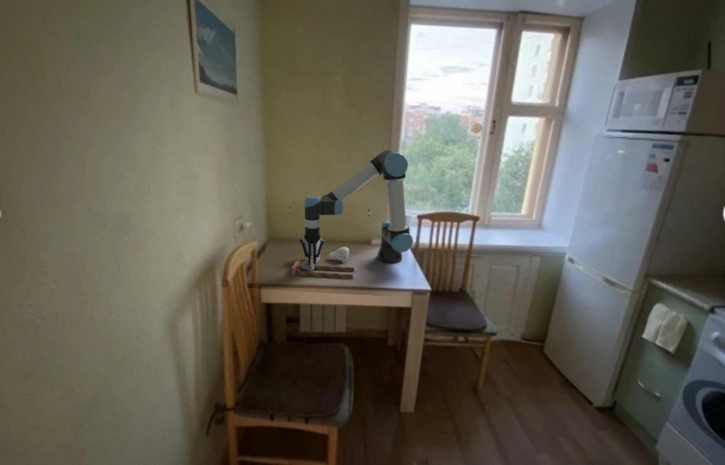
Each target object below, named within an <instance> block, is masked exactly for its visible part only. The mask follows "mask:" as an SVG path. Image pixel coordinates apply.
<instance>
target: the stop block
mask: <svg viewBox="0 0 725 465" xmlns="http://www.w3.org/2000/svg"><path fill="white" fill-rule="evenodd" d="M300 262H301V260H295V262H293V263H294V264H293V265H292V267H291V276H296V275H295V272H296V271H300V268H299V265H300Z"/></svg>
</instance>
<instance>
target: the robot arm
mask: <svg viewBox="0 0 725 465" xmlns="http://www.w3.org/2000/svg"><path fill="white" fill-rule="evenodd" d="M408 167H409V163H408V160H407V158H406V156H405V155H404V154H403V153H401V152H399V151H393V150H389V149H387V150H384V151H382V152H380V153H379V154H378V155H376V156H374V158H372V159H371V160H369V161H368V164H367V165H366V166H364V167H363V168H362V169H360V170H358V171H357V173H355V174H354V175H352V176H351V177H349V178H348V179H347V180H345V181H343V183H341V184H339V185H338V186H337V187H336V188H334V189H333V190H332V191H330V192H329V193H327V194H326V193H325V194H323V195H322V196H321V197H320V196H315V195H312V196H311V195H309V196H306V197H305V198H304V236H303V237H302V238H300V239H299V242H300V243H301V246H302V250H303V253H304V258H305V257H308V258H309V264H311V271H314V270H315V269H314V265H316V264H317V263H316V258H317V257H319V255H320V256H321V251H322V247H323V244H324V242H325V239H323V238H322V237H321V235H320V233H321V231H320V229H321V228H320V225H321V224H320V222H321V220H320V218H321V217H320V216H341V215H343V214H344V202H343V201H345V199H346V198H348V197H349V196H351V195H352V194H354V193H355V192H356V191H358V190H359V189H361V188H362V187H363V186H365V185H366V184H367V183H368V182H370V181H371V180H372V179H374V178H375V177H380V176H383V177H382V178H383V180H384V181H385V182H386V189H387V202H388V212H389V221H387V220H386V221H383V222H382V224H381V237H380V246H379V250H378V251H377V255H376V258H377V260H378V261H380V262H383V263H388V264H394V263H395V264H396V263H400V262H402V261H403V253H405V252H407V251H409V250H410V249H411V248H412V246H413V243H414V239H413V236H412V235H411V234H410V226H409V224H408V223H407V220H406V218H407V216H406V202H405V190H404V188H405V187H404V180H405V179H406V177H407V176H406V172H407V170H408ZM319 240H320V245H319V249H318V253H317V255H316V243H317V242H318V241H319ZM305 241H307V243H308V252H307V248H306V244H305ZM312 244H313V257H311V256H312V253H311V245H312ZM315 263H316V264H315Z"/></svg>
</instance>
